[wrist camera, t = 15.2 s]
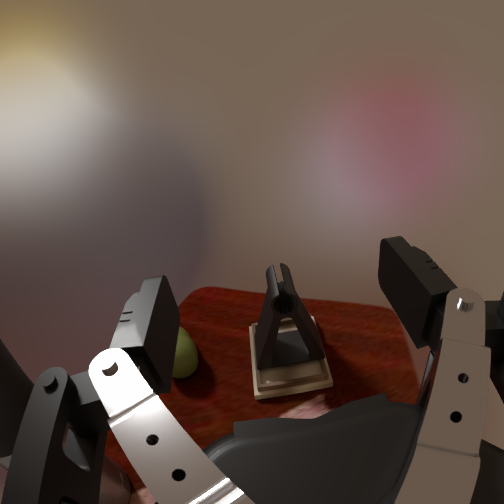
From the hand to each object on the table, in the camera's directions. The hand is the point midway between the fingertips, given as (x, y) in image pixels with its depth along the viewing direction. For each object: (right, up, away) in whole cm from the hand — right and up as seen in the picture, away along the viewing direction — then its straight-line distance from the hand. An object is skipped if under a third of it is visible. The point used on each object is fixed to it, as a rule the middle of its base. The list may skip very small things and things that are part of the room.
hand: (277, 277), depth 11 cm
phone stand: (+4, -12, +30) cm, 33 cm away
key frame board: (+4, -14, +31) cm, 34 cm away
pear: (-11, -16, +34) cm, 39 cm away
